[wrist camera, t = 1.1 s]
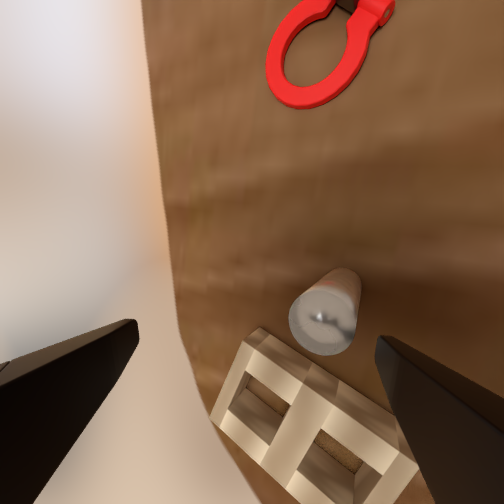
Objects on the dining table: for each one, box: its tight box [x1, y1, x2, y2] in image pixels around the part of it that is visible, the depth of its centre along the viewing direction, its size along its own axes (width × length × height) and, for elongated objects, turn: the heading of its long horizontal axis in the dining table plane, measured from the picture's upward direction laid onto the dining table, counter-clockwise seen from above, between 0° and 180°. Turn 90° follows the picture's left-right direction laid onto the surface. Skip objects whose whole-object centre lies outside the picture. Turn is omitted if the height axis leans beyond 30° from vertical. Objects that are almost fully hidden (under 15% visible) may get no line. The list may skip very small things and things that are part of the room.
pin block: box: [209, 327, 419, 504], centre depth 20 cm, size 14×9×4 cm, turn 66°
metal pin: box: [289, 268, 362, 356], centre depth 15 cm, size 3×3×10 cm
